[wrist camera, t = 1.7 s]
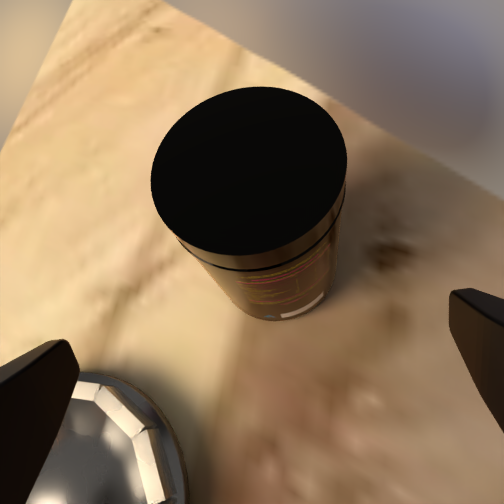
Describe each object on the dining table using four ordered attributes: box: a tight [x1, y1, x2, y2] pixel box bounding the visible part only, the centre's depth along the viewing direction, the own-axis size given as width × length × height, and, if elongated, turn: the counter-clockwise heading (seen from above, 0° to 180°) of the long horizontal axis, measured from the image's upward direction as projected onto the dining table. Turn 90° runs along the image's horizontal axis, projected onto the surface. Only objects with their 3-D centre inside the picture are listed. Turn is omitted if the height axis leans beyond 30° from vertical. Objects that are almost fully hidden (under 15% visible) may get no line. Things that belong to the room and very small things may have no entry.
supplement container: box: [151, 87, 347, 321], centre depth 18 cm, size 7×7×10 cm
